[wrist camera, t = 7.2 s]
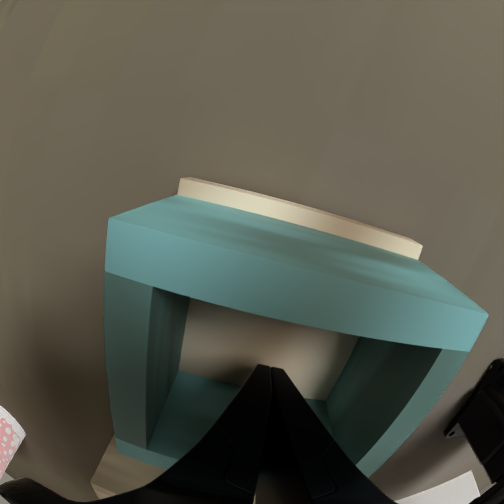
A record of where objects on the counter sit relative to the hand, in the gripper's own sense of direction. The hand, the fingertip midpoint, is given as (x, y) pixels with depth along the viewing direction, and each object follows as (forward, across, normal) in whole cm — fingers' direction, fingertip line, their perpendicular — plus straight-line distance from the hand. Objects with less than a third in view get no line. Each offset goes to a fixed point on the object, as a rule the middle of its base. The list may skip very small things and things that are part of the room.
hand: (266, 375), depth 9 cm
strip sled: (+2, 0, +7) cm, 8 cm away
